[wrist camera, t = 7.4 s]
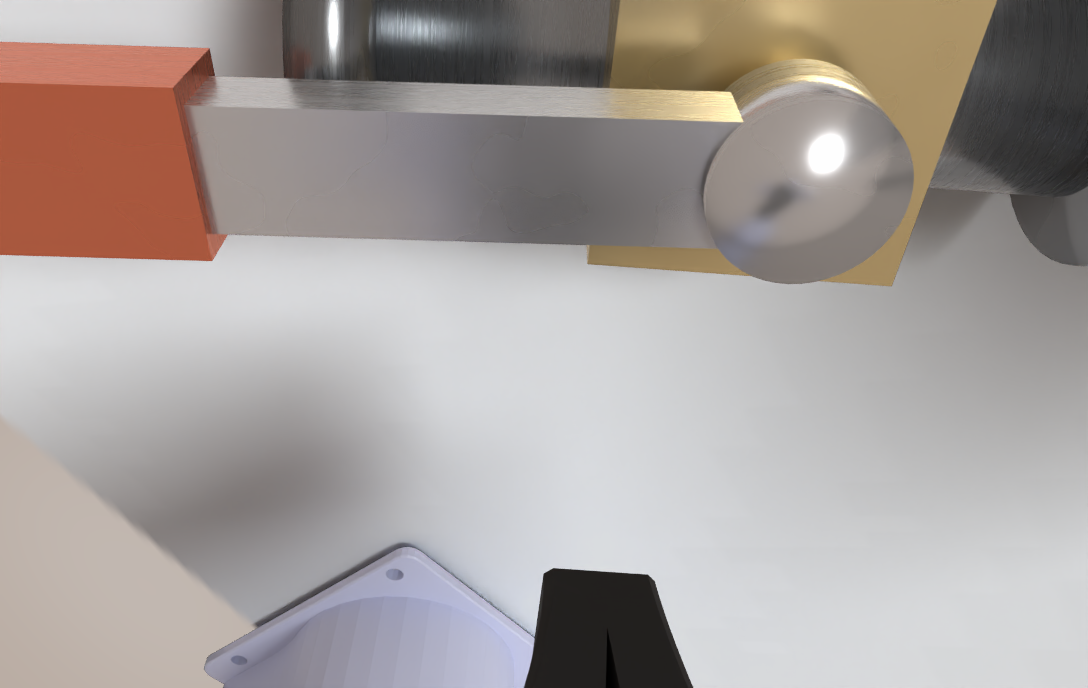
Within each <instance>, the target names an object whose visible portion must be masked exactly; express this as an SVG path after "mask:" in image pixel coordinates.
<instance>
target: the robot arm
mask: <svg viewBox="0 0 1088 688" xmlns="http://www.w3.org/2000/svg"><path fill="white" fill-rule="evenodd" d="M397 569H398V570H397ZM204 670H205V671H206V673H207V674H208V675H209V676H211V677H213V678H215V679H216V680H218V681H219V682H221V683H223V684H224V687H223V688H693V686H692V684H691V681H690V679H689V677H688V674H687V672H686V669H685V667H684V664H683V662H682V659H681V657H680V654H679V652H678V649H677V646H676V644H675V641H674V638H673V636H672V633H671V630H670V628H669V625H668V622H667V619H666V616H665V613H664V610H663V607H662V604H661V601H660V598H659V595H658V591H657V588H656V584H655V581H654V580H653V579H652V578H651V577H650V576H649V575H644V574H629V573H615V572H600V571H585V570H571V569H556V568H553V569H551V570H549V571H548V572H546V573H544V575H543V583H542V590H541V597H540V604H539V611H538V618H537V625H536V633H535V638H534V637H532V636H531V635H530V634H528V633H527V632H526V631H524V630H523V629H522V628H521V627H519V626H518V625H517V624H515V623H514V622H513V621H511V620H510V619H509V618H507V617H506V616H505V615H504V614H502V613H501V612H500V611H498V610H497V609H496V608H494V607H493V606H492V605H490V604H489V603H488V602H486V601H485V600H484V599H483V598H481V597H480V596H479V595H477V594H476V593H475V592H473V591H472V590H471V589H469V588H468V587H467V586H466V585H464V584H463V583H462V582H460V581H459V580H458V579H456V578H455V577H454V576H452V575H451V574H450V573H448V572H447V571H446V570H445V569H443V568H442V567H441V566H439V565H438V564H437V563H435V562H434V561H433V560H431V559H430V558H429V557H428V556H426V555H425V554H424V553H422V552H421V551H419V550H417V549H416V548H412V547H402V548H399V549H396V550H395V551H393V552H391V553H389V554H388V555H386V556H384V557H382V558H381V559H379V560H377V561H375V562H373V563H372V564H370V565H368V566H366V567H365V568H363V569H361V570H359V571H358V572H356V573H354V574H352V575H350V576H349V577H347V578H345V579H343V580H342V581H340V582H338V583H336V584H335V585H333V586H331V587H329V588H327V589H326V590H324V591H322V592H320V593H319V594H317V595H315V596H313V597H312V598H310V599H308V600H306V601H305V602H303V603H301V604H299V605H297V606H296V607H294V608H292V609H290V610H289V611H287V612H285V613H283V614H282V615H280V616H278V617H276V618H274V619H273V620H271V621H269V622H267V623H266V624H264V625H262V626H260V627H259V628H257V629H255V630H253V631H251V632H250V633H248V634H246V635H244V636H243V637H241V638H239V639H237V640H236V641H234V642H232V643H230V644H229V645H227V646H225V647H223V648H222V649H220V650H218V651H216V652H214V653H213V654H211V655H210V656H209V657H207V660H206V663H205V666H204Z"/></svg>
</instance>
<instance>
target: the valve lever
mask: <svg viewBox="0 0 1088 688" xmlns="http://www.w3.org/2000/svg"><path fill="white" fill-rule="evenodd" d="M913 183H914V169H913V162H912V158H911V153H910V151H909V148H908V146H907V144H906V142H905V140H904V138H903V137H902V135H901V134H900V132H899V131H898V129H897V128H896V127H895V125H894V124H893V123H892V121H891V120H890V119H889V117H888V116H887V115H886V113H885V112H884V111H883V109H882V108H881V107H880V105H879V104H878V103H877V101H876V100H875V99H874V97H873V96H872V95H871V93H870V92H869V90H868V89H867V88H866V87H865V86H864V85H863V84H862V82H861V81H860V80H859V79H857V78H856V77H855V76H854V75H852V74H851V73H849V72H848V71H846V70H844V69H843V68H841V67H838V66H836V65H833V64H831V63H828V62H823V61H819V60H812V59H790V60H784V61H778V62H774V63H771V64H767V65H764V66H762V67H760V68H757V69H755V70H753V71H751V72H749V73H747V74H745V75H744V76H742V77H740V78H739V79H738V80H736V81H735V82H734V83H732V84H731V85H730V86H728V87H727V88H726V89H725V90H724V91H723V92H717V91H683V90H650V89H617V88H584V87H551V86H518V85H485V84H452V83H419V82H386V81H353V80H320V79H287V78H254V77H221V76H215V74H214V69H213V64H212V59H211V54H210V48H184V47H151V46H118V45H86V44H53V43H20V42H0V255H25V256H60V257H94V258H129V259H163V260H198V261H212V260H213V259H214V257H215V255H216V254H217V252H218V250H219V249H220V247H221V245H222V243H223V242H224V240H225V238H226V237H227V235H228V234H229V235H263V236H297V237H332V238H366V239H400V240H434V241H469V242H503V243H537V244H571V245H606V246H640V247H674V248H708V249H719V251H720V252H721V253H722V254H723V255H724V257H725V258H726V259H727V260H728V261H729V262H731V263H732V264H733V265H734V266H735V267H737V268H738V269H740V270H741V271H743V272H745V273H747V274H749V275H751V276H753V277H756V278H759V279H762V280H765V281H770V282H775V283H784V284H802V283H810V282H816V281H820V280H824V279H828V278H831V277H834V276H837V275H839V274H842V273H844V272H846V271H848V270H850V269H852V268H854V267H855V266H857V265H859V264H860V263H862V262H864V261H865V260H866V259H868V258H869V257H870V256H872V255H873V254H874V253H875V252H876V251H878V250H879V249H880V248H881V247H882V246H883V245H884V244H885V243H886V242H887V241H888V239H889V238H890V237H891V236H892V235H893V233H894V232H895V230H896V229H897V228H898V226H899V225H900V223H901V221H902V219H903V217H904V215H905V213H906V211H907V208H908V206H909V203H910V200H911V196H912V191H913Z"/></svg>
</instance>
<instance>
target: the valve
mask: <svg viewBox="0 0 1088 688" xmlns="http://www.w3.org/2000/svg"><path fill="white" fill-rule="evenodd" d="M282 23H283V64H284V78H287V79H320V80H353V81H386V82H419V83H452V84H485V85H518V86H551V87H584V88H617V89H650V90H683V91H717V92H723V91H724V90H725V89H726V88H727V87H728V86H730V85H731V84H732V83H734V82H735V81H736V80H738V79H739V78H740V77H742V76H744V75H745V74H747V73H749V72H751V71H753V70H755V69H757V68H760V67H762V66H764V65H767V64H771V63H774V62H778V61H784V60H790V59H812V60H819V61H823V62H828V63H831V64H833V65H836V66H838V67H841V68H843V69H844V70H846V71H848V72H849V73H851V74H852V75H854V76H855V77H856V78H857V79H859V80H860V81H861V82H862V84H863V85H864V86H865V87H866V88H867V89H868V90H869V92H870V93H871V95H872V96H873V97H874V99H875V100H876V101H877V103H878V104H879V105H880V107H881V108H882V109H883V111H884V112H885V113H886V115H887V116H888V117H889V119H890V120H891V121H892V123H893V124H894V125H895V127H896V128H897V129H898V131H899V132H900V134H901V135H902V137H903V138H904V140H905V142H906V144H907V146H908V148H909V151H910V153H911V158H912V162H913V169H914V183H913V191H912V196H911V200H910V203H909V206H908V208H907V211H906V213H905V215H904V217H903V219H902V221H901V223H900V225H899V226H898V228H897V229H896V230H895V232H894V233H893V235H892V236H891V237H890V238H889V239H888V241H887V242H886V243H885V244H884V245H883V246H882V247H881V248H880V249H879V250H878V251H876V252H875V253H874V254H873V255H872V256H870V257H869V258H868V259H866V260H865V261H864V262H862V263H860V264H859V265H857V266H855V267H854V268H852V269H850V270H848V271H846V272H844V273H842V274H839V275H837V276H834V277H831V278H828V279H824V280H820V281H827V282H841V283H854V284H868V285H882V286H892V284H893V281H894V279H895V276H896V273H897V270H898V268H899V265H900V262H901V260H902V257H903V254H904V251H905V249H906V246H907V243H908V241H909V238H910V235H911V232H912V230H913V227H914V224H915V222H916V219H917V216H918V213H919V211H920V208H921V205H922V203H923V200H924V197H925V194H926V192H927V189H928V188H941V189H954V190H967V191H980V192H993V193H1006V194H1010V197H1011V201H1012V205H1013V208H1014V211H1015V214H1016V217H1017V220H1018V222H1019V224H1020V226H1021V228H1022V230H1023V232H1024V233H1025V235H1026V236H1027V238H1028V239H1029V240H1030V242H1031V243H1032V244H1033V245H1034V246H1035V247H1036V248H1037V249H1038V250H1039V251H1040V252H1041V253H1042V254H1044V255H1045V256H1047V257H1048V258H1050V259H1052V260H1054V261H1057V262H1059V263H1062V264H1068V265H1075V266H1088V0H283V19H282ZM587 264H593V265H607V266H620V267H634V268H648V269H662V270H675V271H689V272H703V273H717V274H730V275H744V276H751V275H749V274H747V273H745V272H743V271H741V270H740V269H738V268H737V267H735V266H734V265H733V264H732V263H731V262H729V261H728V260H727V259H726V258H725V257H724V255H723V254H722V253H721V252H720V251H719V249H708V248H674V247H640V246H606V245H587Z"/></svg>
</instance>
